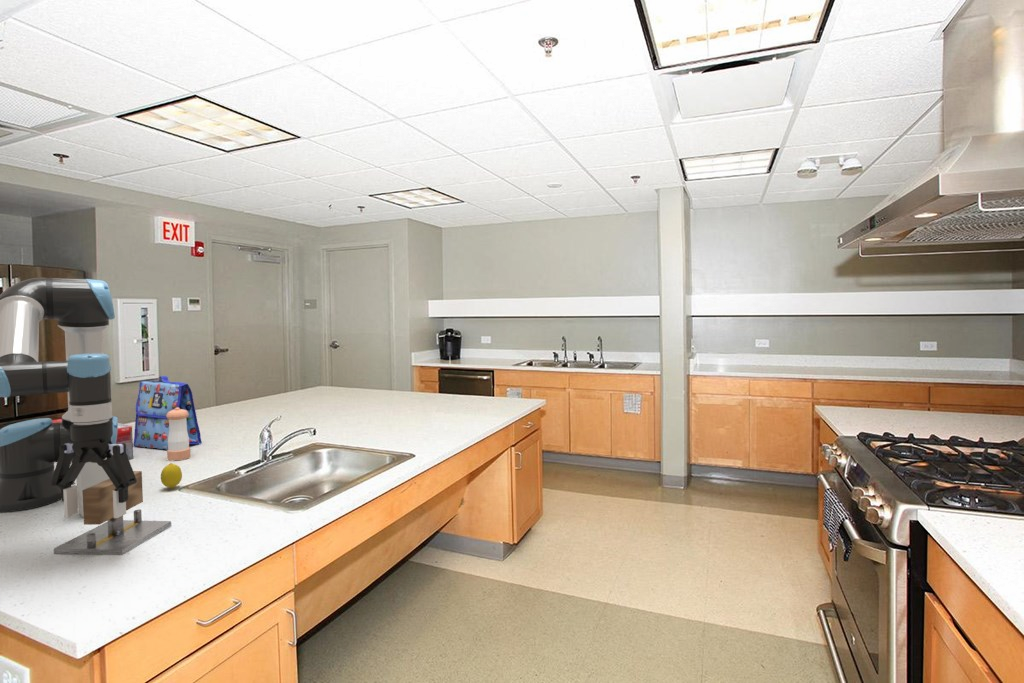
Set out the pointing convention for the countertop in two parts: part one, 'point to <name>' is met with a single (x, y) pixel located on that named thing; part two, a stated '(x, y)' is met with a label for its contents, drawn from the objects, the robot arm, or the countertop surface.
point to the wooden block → (108, 500)
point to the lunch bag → (162, 412)
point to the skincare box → (89, 480)
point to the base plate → (114, 536)
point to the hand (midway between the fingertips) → (95, 515)
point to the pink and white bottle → (178, 435)
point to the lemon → (171, 475)
